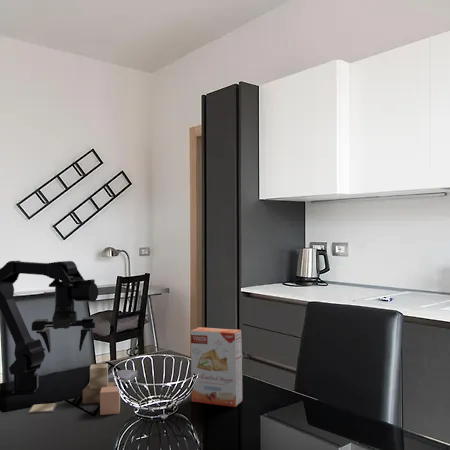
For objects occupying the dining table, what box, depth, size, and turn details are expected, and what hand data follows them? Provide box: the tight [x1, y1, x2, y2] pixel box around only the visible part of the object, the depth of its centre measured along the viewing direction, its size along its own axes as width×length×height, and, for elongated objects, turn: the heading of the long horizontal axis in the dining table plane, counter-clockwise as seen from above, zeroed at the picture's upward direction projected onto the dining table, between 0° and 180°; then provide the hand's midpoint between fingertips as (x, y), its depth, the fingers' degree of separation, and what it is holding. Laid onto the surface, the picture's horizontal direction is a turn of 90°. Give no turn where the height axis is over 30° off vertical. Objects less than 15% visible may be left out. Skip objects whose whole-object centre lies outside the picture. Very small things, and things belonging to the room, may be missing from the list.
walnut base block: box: [82, 382, 116, 404], centre depth 144 cm, size 8×8×4 cm
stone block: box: [108, 369, 138, 382], centre depth 160 cm, size 12×5×10 cm
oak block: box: [89, 363, 109, 389], centre depth 144 cm, size 5×5×6 cm
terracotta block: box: [99, 386, 121, 416], centre depth 133 cm, size 5×5×6 cm
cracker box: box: [190, 326, 243, 408], centre depth 139 cm, size 14×6×21 cm, turn 68°
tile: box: [27, 402, 58, 415], centre depth 136 cm, size 7×7×1 cm
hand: (64, 351), depth 150 cm, fingers open, 9 cm apart
